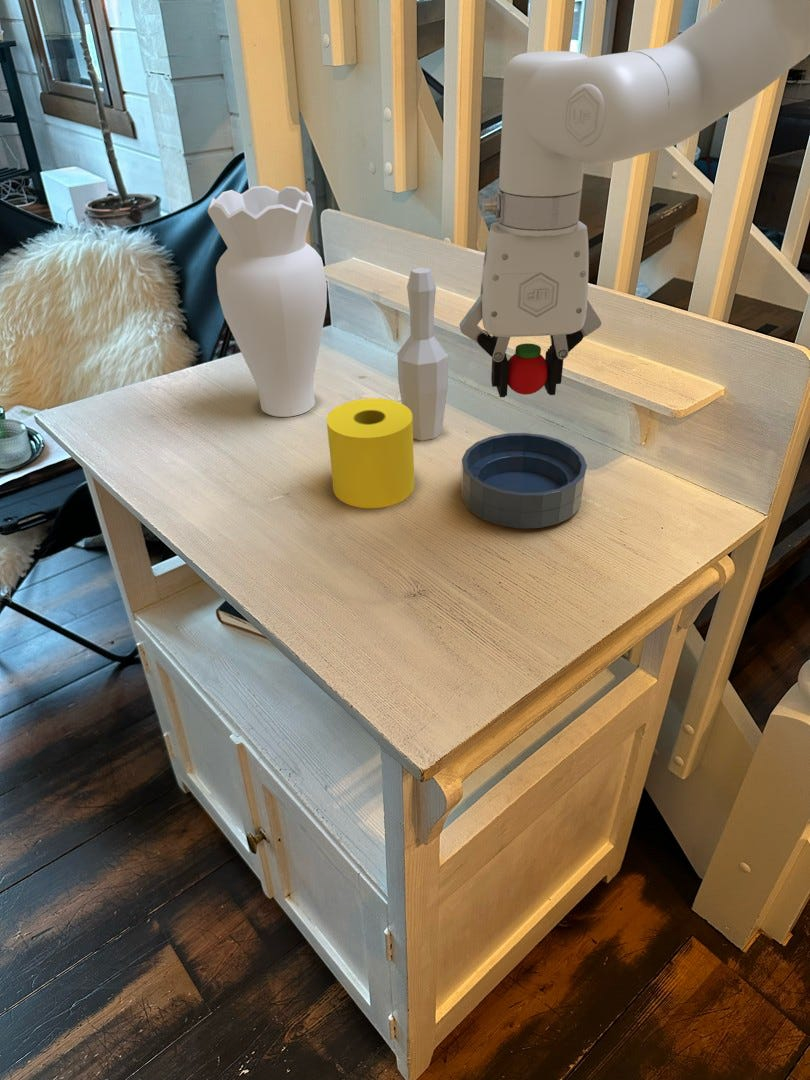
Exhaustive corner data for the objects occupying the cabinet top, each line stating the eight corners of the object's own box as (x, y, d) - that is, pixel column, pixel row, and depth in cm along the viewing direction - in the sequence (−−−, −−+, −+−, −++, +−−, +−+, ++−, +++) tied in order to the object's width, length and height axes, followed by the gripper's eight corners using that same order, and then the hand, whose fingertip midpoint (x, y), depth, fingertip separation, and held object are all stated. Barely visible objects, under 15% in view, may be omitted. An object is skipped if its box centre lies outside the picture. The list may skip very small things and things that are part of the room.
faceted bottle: (456, 434, 104) (457, 271, 91) (418, 448, 101) (414, 282, 88) (429, 417, 108) (427, 259, 95) (392, 430, 105) (385, 269, 93)
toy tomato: (549, 385, 82) (554, 341, 79) (542, 404, 79) (547, 358, 76) (508, 381, 84) (510, 337, 81) (499, 399, 80) (501, 354, 77)
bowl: (588, 476, 94) (593, 440, 91) (572, 541, 83) (577, 503, 80) (476, 461, 98) (477, 426, 95) (448, 522, 87) (448, 485, 84)
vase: (222, 424, 108) (181, 208, 91) (259, 381, 120) (229, 182, 103) (320, 432, 106) (296, 210, 88) (348, 387, 117) (332, 183, 100)
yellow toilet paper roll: (357, 517, 88) (352, 446, 83) (319, 480, 95) (312, 412, 90) (429, 491, 92) (428, 422, 87) (388, 457, 99) (384, 391, 94)
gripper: (451, 223, 67) (449, 410, 78) (640, 216, 67) (612, 403, 78) (444, 203, 73) (443, 379, 84) (617, 197, 74) (594, 373, 84)
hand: (525, 389), depth 81 cm, fingers closed on toy tomato, 4 cm apart
